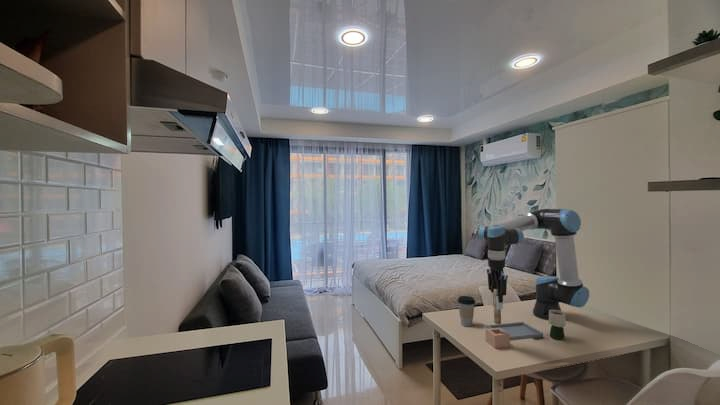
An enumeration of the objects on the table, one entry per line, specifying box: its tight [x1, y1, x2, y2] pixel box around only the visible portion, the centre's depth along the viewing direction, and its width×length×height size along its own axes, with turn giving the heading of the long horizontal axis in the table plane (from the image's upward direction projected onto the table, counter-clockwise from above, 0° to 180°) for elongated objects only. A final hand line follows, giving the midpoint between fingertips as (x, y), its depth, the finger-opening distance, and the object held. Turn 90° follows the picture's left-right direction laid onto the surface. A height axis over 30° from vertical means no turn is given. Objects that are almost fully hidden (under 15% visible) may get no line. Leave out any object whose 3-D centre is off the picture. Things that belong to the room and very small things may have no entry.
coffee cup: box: [457, 295, 476, 328], centre depth 173 cm, size 9×9×15 cm
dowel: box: [493, 289, 502, 324], centre depth 148 cm, size 3×3×16 cm
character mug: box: [548, 310, 567, 340], centre depth 155 cm, size 11×7×13 cm, turn 110°
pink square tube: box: [485, 328, 511, 350], centre depth 148 cm, size 8×8×7 cm
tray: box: [485, 321, 544, 341], centre depth 161 cm, size 22×15×2 cm
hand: (497, 307), depth 148 cm, fingers closed on dowel, 3 cm apart
